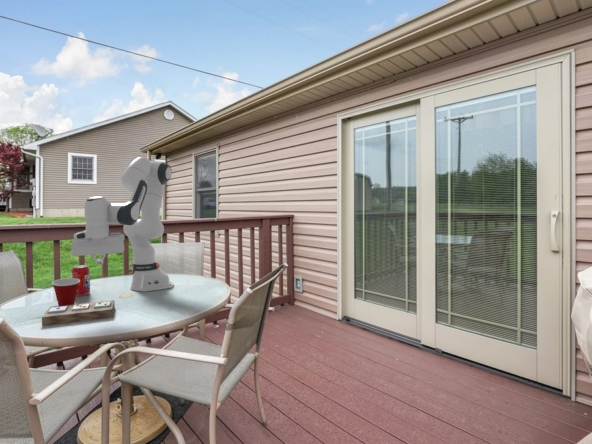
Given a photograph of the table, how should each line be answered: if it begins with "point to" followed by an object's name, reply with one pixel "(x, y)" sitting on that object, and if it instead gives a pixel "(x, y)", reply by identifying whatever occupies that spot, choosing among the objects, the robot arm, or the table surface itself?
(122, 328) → the table surface
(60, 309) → the tile one dot
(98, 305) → the tile two dots
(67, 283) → the plastic cup
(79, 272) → the soda can
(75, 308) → the tile three dots
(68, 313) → the keypad board
